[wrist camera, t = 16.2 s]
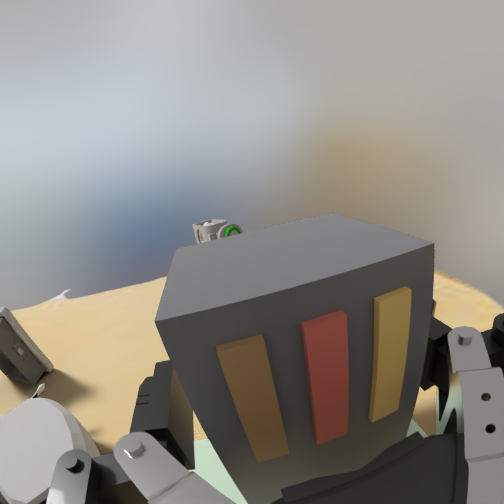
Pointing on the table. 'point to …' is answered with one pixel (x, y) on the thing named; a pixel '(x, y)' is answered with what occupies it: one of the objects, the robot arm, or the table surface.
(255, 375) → the plug block
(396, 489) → the robot arm
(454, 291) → the table surface
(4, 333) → the electrical switch
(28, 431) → the robot toy
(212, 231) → the mechanical component
